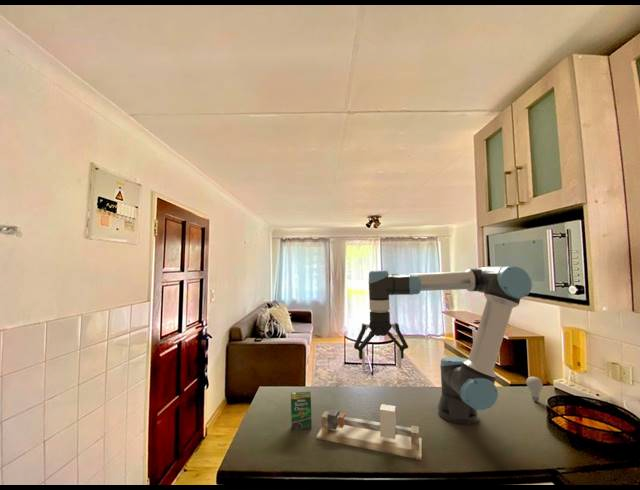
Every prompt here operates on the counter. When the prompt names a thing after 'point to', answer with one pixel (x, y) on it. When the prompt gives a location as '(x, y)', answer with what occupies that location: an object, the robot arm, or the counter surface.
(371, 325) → the robot arm
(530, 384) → the lightbulb
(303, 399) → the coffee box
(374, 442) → the stand
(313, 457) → the counter surface
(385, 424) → the sleeve
